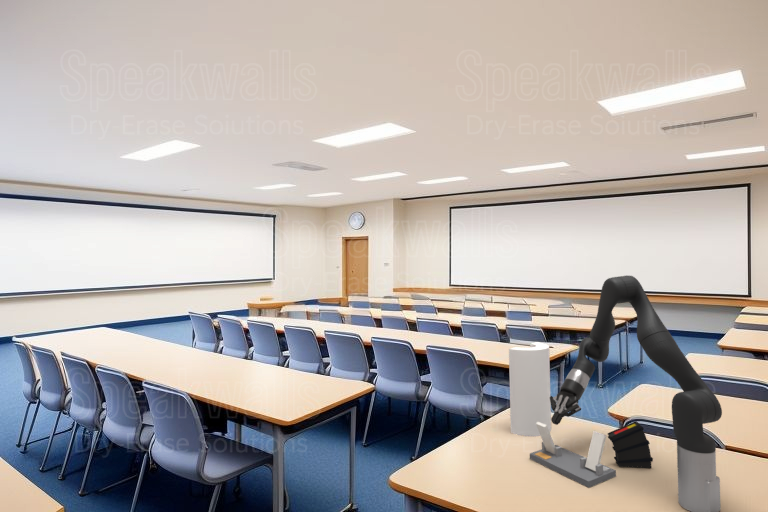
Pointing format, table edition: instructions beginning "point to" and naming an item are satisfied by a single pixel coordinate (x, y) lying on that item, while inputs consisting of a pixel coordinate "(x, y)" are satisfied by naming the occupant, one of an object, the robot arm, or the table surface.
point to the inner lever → (595, 450)
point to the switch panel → (572, 466)
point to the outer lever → (546, 437)
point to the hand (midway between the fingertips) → (554, 423)
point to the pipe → (529, 388)
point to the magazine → (631, 446)
